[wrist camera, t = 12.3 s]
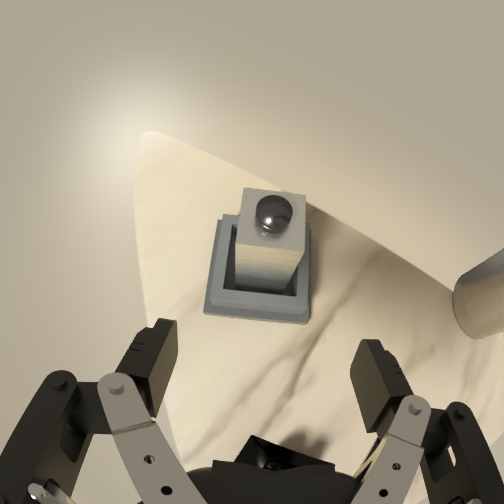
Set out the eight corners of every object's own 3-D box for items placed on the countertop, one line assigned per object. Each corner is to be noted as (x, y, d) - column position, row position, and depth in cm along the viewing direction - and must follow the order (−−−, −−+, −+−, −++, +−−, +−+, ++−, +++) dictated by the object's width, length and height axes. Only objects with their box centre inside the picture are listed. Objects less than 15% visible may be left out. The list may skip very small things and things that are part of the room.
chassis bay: (308, 234, 32) (316, 218, 29) (306, 324, 28) (315, 317, 25) (218, 224, 32) (216, 206, 29) (204, 314, 28) (200, 305, 24)
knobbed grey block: (284, 251, 30) (308, 187, 20) (281, 294, 28) (307, 245, 18) (240, 246, 30) (244, 179, 20) (235, 288, 28) (235, 236, 18)
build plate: (349, 460, 22) (367, 471, 18) (316, 514, 20) (328, 532, 15) (239, 419, 24) (240, 427, 20) (205, 476, 21) (200, 492, 17)
